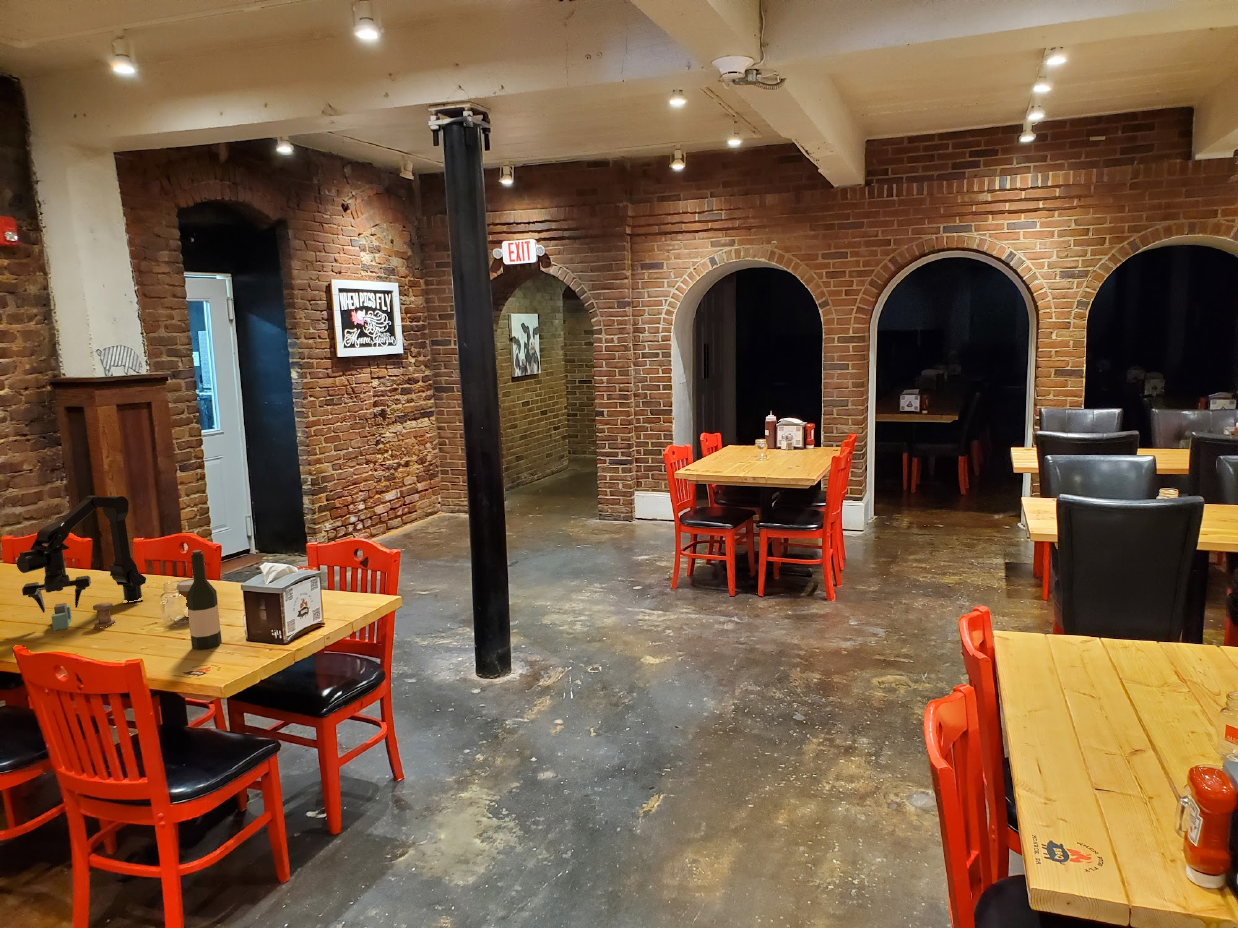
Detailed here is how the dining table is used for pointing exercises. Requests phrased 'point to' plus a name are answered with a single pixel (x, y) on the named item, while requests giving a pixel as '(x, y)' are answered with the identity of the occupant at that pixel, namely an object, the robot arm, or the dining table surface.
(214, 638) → the wine bottle
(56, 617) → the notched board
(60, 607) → the grey upright block
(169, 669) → the dining table surface
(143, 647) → the dining table surface
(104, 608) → the spool
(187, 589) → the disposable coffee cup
